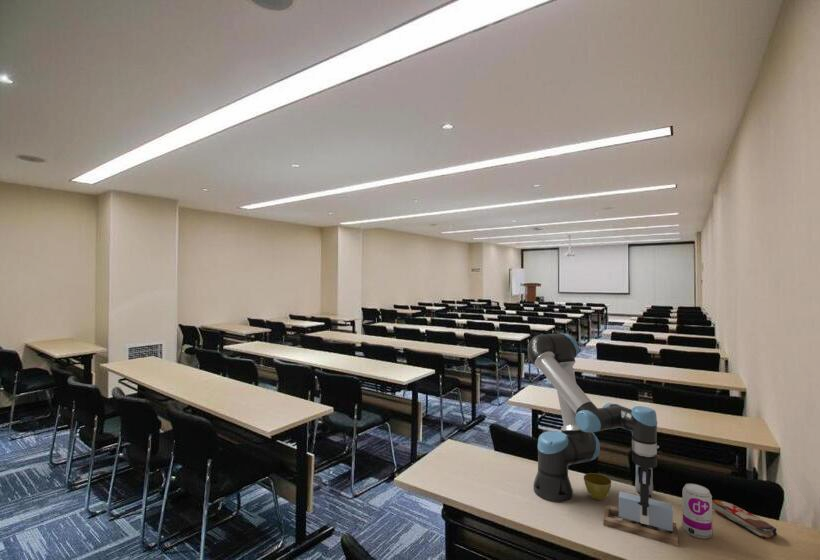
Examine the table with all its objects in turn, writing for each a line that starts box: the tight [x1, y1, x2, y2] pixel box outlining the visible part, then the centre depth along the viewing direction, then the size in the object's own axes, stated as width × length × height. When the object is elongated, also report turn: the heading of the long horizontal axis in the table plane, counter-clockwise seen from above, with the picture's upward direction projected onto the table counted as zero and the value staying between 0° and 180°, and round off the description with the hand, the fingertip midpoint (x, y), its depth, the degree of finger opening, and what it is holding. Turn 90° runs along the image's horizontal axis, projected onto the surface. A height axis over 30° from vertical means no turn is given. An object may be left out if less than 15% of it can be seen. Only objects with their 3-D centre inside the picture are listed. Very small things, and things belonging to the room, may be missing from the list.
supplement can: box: [681, 483, 713, 540], centre depth 137 cm, size 8×8×15 cm
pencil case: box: [712, 499, 778, 539], centre depth 142 cm, size 11×20×5 cm, turn 2°
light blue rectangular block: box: [618, 491, 674, 533], centre depth 139 cm, size 16×4×9 cm, turn 58°
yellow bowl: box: [583, 472, 612, 501], centre depth 160 cm, size 10×10×7 cm
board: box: [602, 504, 679, 547], centre depth 140 cm, size 22×11×2 cm, turn 59°
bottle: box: [634, 464, 654, 496], centre depth 163 cm, size 7×7×20 cm
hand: (644, 519), depth 139 cm, fingers closed on light blue rectangular block, 4 cm apart
